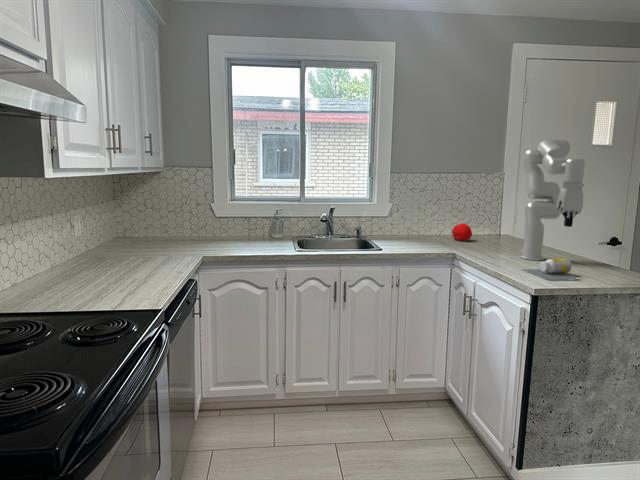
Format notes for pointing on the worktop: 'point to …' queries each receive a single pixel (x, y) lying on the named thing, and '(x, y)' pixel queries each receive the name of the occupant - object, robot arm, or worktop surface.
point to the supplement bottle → (556, 266)
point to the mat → (550, 274)
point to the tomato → (461, 232)
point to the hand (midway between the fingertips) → (567, 226)
